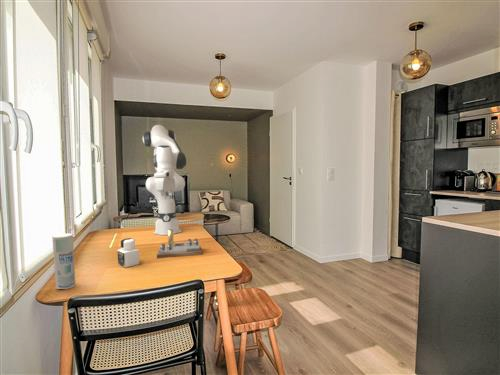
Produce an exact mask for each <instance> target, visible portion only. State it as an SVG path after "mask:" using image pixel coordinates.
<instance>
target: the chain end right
mask: <svg viewBox="0 0 500 375" xmlns="http://www.w3.org/2000/svg"><path fill="white" fill-rule="evenodd" d="M199 246H200V242H199V240H198V238H194V240H193V241H192V239H191V238H188V240H187V242H177V243H175V242H174V243H173V247H172V249H173V250H179V249H187V252H191V251H199Z"/></svg>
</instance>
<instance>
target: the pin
mask: <svg viewBox="0 0 500 375" xmlns="http://www.w3.org/2000/svg"><path fill="white" fill-rule="evenodd" d="M174 240H175V239H174V234H173V230H172V229H170V230H168V235H167V244H168V243H171V244H172V246H173V243H175V241H174Z"/></svg>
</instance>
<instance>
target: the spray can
mask: <svg viewBox="0 0 500 375" xmlns="http://www.w3.org/2000/svg"><path fill="white" fill-rule="evenodd" d="M52 250H53V263H54V264H53V265H54V276H55V277H54V278H55V289H56V288H57V289H66V290H69V289H72V288H74V287H75V286H76V277H75V276H76V275H75V274H76V272H75V254H74V253H75V252H74V251H75V250H74V234H73V233H71V232H70V233H67V232H66V233H58V234H55V235H53V236H52ZM68 288H69V289H68ZM57 289H56V290H57Z"/></svg>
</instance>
